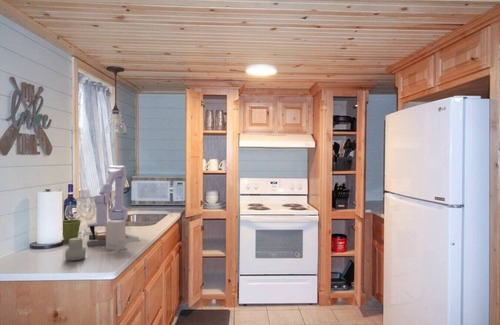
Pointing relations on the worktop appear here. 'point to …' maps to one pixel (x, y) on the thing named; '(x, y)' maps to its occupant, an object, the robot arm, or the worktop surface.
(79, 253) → the air freshener
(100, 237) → the box stamped
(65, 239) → the plant pot
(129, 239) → the coaster
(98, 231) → the box plain
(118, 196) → the robot arm
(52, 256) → the worktop surface
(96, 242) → the parts bin
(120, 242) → the skincare box
